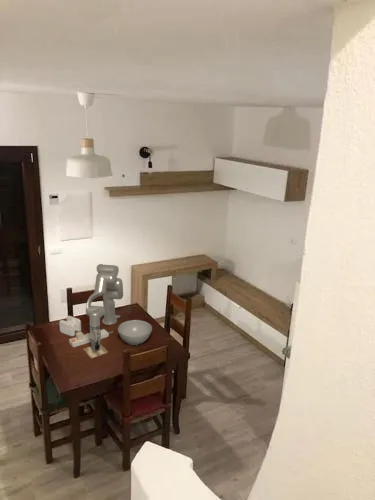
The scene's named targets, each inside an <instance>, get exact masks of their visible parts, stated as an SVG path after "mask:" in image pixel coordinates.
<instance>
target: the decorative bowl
mask: <svg viewBox="0 0 375 500" xmlns="http://www.w3.org/2000/svg"><path fill="white" fill-rule="evenodd" d="M117 331H118V334H119V336H120V338H121V339H122V341H123V342H125V343H127V344H128V345H130V346H133V345H136V346H139V345H138V344H140V343H141V344H143V343H144V342H146V341H147V340H148V338H149V337H150V336H151V334H152V331H153V326H152V324H151V323H149V322H147V321H144V320H140V319H133V320H132V319H131V320H126V321H124V322H121V323H120V324H119V325H118V327H117ZM141 344H140V345H141Z"/></svg>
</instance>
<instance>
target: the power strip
mask: <svg viewBox="0 0 375 500" xmlns="http://www.w3.org/2000/svg"><path fill="white" fill-rule="evenodd" d="M100 332H101V340H102V339H105V338H108V337H109V335H110V334H112V333H114V331H113V330H112V331H107V330H106V329H105V328H102V329H100ZM91 340H92V339H91V337H90V332H88V333H86V334H84V333H83V332H82V331H80V332H75V336H74V337H72V338H70V339H68V343H69V345H70V346H71V347H72V348H76V347H79V346H82V345H86V344H89V343H91Z"/></svg>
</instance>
